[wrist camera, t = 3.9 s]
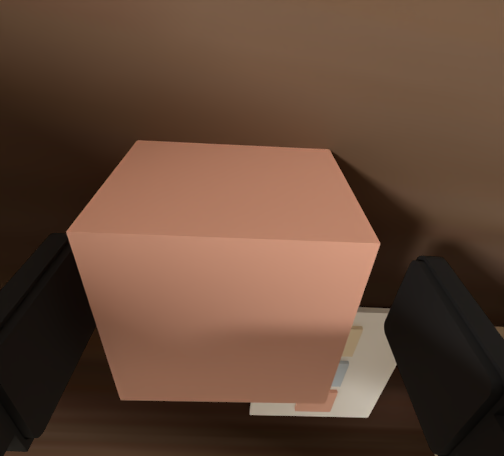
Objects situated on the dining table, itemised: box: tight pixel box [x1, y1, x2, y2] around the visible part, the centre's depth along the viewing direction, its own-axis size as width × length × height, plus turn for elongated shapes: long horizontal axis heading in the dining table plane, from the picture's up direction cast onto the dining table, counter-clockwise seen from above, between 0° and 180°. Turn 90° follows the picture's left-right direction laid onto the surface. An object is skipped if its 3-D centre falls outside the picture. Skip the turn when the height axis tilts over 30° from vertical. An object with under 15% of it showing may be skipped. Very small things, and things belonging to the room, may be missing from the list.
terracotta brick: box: [66, 140, 381, 404], centre depth 10 cm, size 6×6×5 cm
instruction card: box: [250, 307, 397, 418], centre depth 17 cm, size 9×7×1 cm
